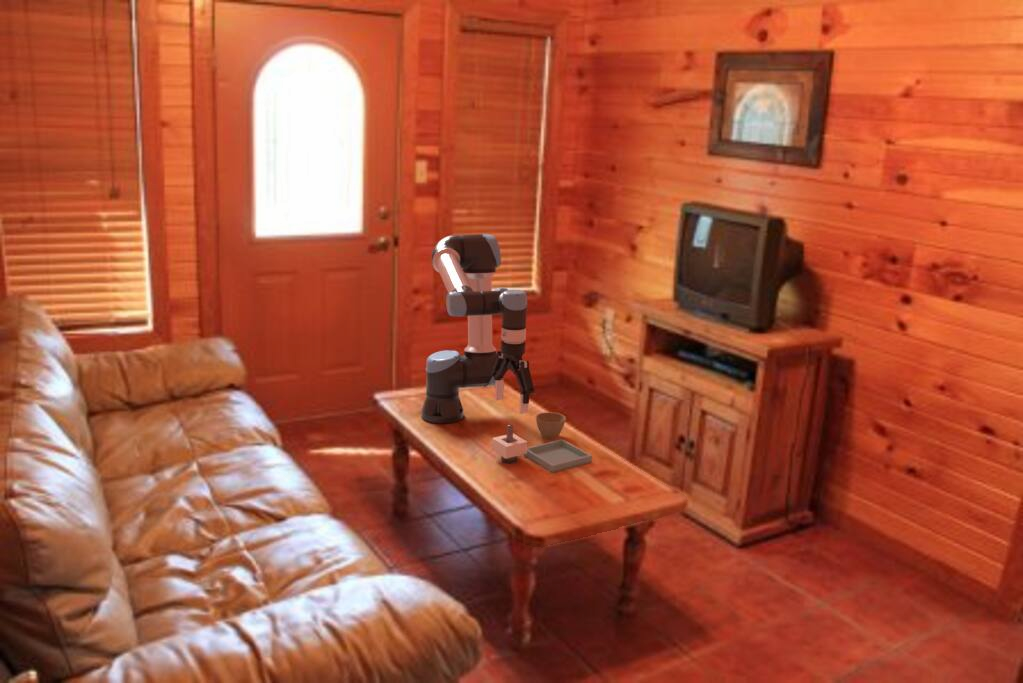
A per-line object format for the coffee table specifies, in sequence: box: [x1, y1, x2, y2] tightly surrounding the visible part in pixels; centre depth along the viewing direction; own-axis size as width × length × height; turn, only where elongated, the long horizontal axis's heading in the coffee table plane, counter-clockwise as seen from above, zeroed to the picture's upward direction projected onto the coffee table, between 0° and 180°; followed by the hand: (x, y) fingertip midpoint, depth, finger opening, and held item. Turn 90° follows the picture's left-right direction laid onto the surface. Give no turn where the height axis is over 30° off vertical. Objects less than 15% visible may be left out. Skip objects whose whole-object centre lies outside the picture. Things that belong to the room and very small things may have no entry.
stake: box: [500, 423, 518, 464], centre depth 275 cm, size 5×5×12 cm
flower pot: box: [535, 411, 567, 441], centre depth 296 cm, size 10×10×7 cm
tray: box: [523, 438, 593, 474], centre depth 279 cm, size 16×16×2 cm
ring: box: [491, 433, 528, 459], centre depth 276 cm, size 8×8×4 cm
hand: (511, 406), depth 272 cm, fingers open, 13 cm apart
